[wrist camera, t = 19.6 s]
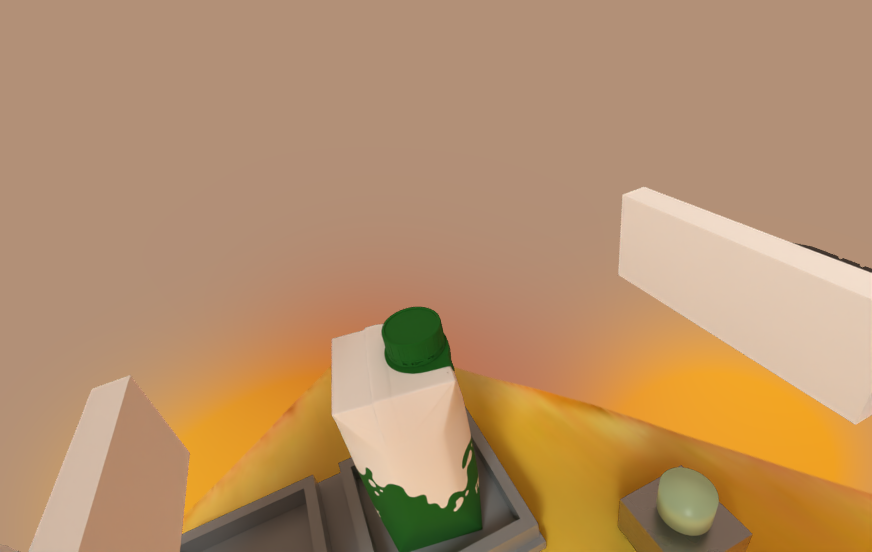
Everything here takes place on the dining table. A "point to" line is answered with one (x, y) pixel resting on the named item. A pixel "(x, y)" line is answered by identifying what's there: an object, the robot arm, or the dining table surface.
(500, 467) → the pocket tray
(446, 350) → the soya milk
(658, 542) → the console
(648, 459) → the dining table surface
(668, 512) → the button
